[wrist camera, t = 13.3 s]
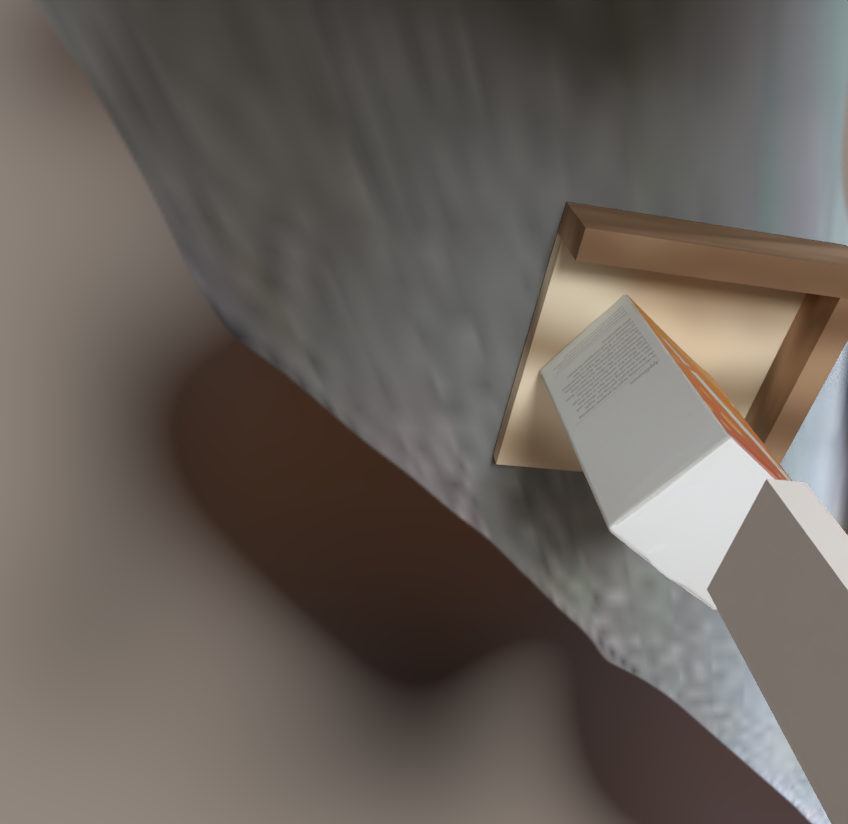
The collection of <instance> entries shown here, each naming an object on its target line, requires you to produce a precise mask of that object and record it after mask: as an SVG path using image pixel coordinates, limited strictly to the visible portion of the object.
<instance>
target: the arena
mask: <svg viewBox="0 0 848 824" xmlns="http://www.w3.org/2000/svg"><path fill="white" fill-rule="evenodd" d="M623 295H628V296H629V297H630V298H631V299H632V300H633V301H634V302H635V303H636V304H637V305H638V306H639V307H640V308H641V309H642V310H643V311H644V312H645V313H646V314H647V315H648V316H649V317H650V318H651V319H652V320H653V321H654V322H655V323H656V324H657V325H658V326H659V327H660V328H661V329H662V330H663V331H664V332H665V333H666V334H667V335H668V336H669V337H670V338H671V339H672V340H673V341H674V342H675V343H676V344H677V345H678V346H679V347H680V348H681V349H682V350H683V351H684V352H685V353H686V354H687V355H688V356H690V357H691V358H692V359H693V360H694V361H695V362H696V363H697V364H698V365H699V366H700V367H702V368H703V369H704V370H705V371H706V372H707V373H709V374H710V375H711V376H712V377H713V379H714V380H715V381H716V383H717V384H718V385H719V386H720V388H721V389H722V390H723V391H724V393H725V394H726V395H727V397H728V398H729V399H730V401H731V402H732V403H733V405H734V406H735V407H736V409H737V410H738V411H739V413H740V414H741V415H742V417H743V418H744V419H745V421H746V422H747V423H748V425H749V426H750V427H751V428H752V430H753V431H754V432H755V433H756V435H757V436H758V437H759V438H760V440H761V441H762V442H763V444H764V445H765V446H766V447H767V449H768V450H769V451H770V453H771V454H772V455H773V456H774V458H775V459H776V460H777V462H778V463H779V464H780V463H781V461H782V459H783V458H784V456H785V454H786V452H787V450H788V449H789V447H790V445H791V443H792V441H793V439H794V438H795V436H796V434H797V432H798V430H799V428H800V427H801V425H802V423H803V421H804V419H805V417H806V416H807V414H808V412H809V410H810V408H811V406H812V405H813V403H814V401H815V399H816V397H817V395H818V394H819V392H820V390H821V388H822V386H823V384H824V383H825V381H826V379H827V377H828V375H829V373H830V372H831V370H832V368H833V366H834V364H835V362H836V361H837V359H838V357H839V355H840V353H841V351H842V350H843V348H844V346H845V344H846V342H847V340H848V247H847V246H846V245H841V244H835V243H828V242H822V241H815V240H809V239H802V238H796V237H790V236H783V235H777V234H770V233H764V232H757V231H751V230H744V229H738V228H732V227H725V226H719V225H712V224H706V223H699V222H693V221H687V220H680V219H674V218H667V217H661V216H654V215H648V214H641V213H635V212H629V211H622V210H616V209H609V208H603V207H596V206H590V205H583V204H577V203H571V202H566V205H565V209H564V212H563V216H562V219H561V223H560V226H559V229H558V233H557V236H556V240H555V243H554V247H553V250H552V254H551V257H550V260H549V264H548V267H547V271H546V274H545V278H544V281H543V285H542V288H541V291H540V295H539V298H538V302H537V305H536V309H535V312H534V315H533V319H532V322H531V326H530V329H529V333H528V336H527V340H526V343H525V346H524V350H523V353H522V357H521V360H520V364H519V367H518V371H517V374H516V377H515V381H514V384H513V388H512V391H511V395H510V398H509V401H508V405H507V408H506V412H505V415H504V419H503V422H502V426H501V429H500V432H499V436H498V439H497V443H496V446H495V450H494V453H493V455H494V458H495V462H496V464H499V465H510V466H521V467H533V468H544V469H555V470H567V471H578V472H583V471H582V468H581V466H580V464H579V461H578V459H577V457H576V454H575V452H574V450H573V448H572V445H571V443H570V441H569V439H568V436H567V434H566V431H565V429H564V427H563V424H562V422H561V420H560V417H559V415H558V413H557V410H556V408H555V406H554V404H553V401H552V399H551V397H550V395H549V392H548V390H547V388H546V385H545V383H544V381H543V379H542V377H541V375H540V370H541V369H542V368H543V367H544V366H545V365H546V364H547V363H548V362H549V361H551V360H552V359H553V358H554V357H555V356H556V355H557V354H558V353H559V352H560V351H561V350H563V349H564V348H565V347H566V346H567V345H568V344H569V343H570V342H572V341H573V340H574V339H575V338H576V337H577V336H578V335H580V334H581V333H582V332H583V331H584V330H585V329H586V328H587V327H589V326H590V325H591V324H592V323H593V322H594V321H595V320H596V319H597V318H598V317H600V316H601V315H602V314H603V313H604V312H605V311H606V310H607V309H609V308H610V307H611V306H612V305H613V304H614V303H615V302H616V301H617V300H619V299H620V298H621V297H622V296H623Z"/></svg>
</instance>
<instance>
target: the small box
mask: <svg viewBox="0 0 848 824" xmlns="http://www.w3.org/2000/svg"><path fill="white" fill-rule="evenodd" d="M540 375H541V377H542V379H543V381H544V383H545V385H546V388H547V390H548V392H549V395H550V397H551V399H552V401H553V404H554V406H555V408H556V410H557V413H558V415H559V417H560V420H561V422H562V424H563V427H564V429H565V431H566V434H567V436H568V439H569V441H570V443H571V445H572V448H573V450H574V452H575V454H576V457H577V459H578V461H579V464H580V466H581V468H582V471H583V473H584V475H585V477H586V480H587V482H588V484H589V486H590V489H591V491H592V493H593V496H594V498H595V501H596V503H597V505H598V507H599V510H600V512H601V514H602V516H603V519H604V521H605V523H606V525H607V528H608V530H609V531H610V532H611V533H612V534H613V535H615V536H616V537H617V538H618V539H619V540H621V541H622V542H623V543H625V544H626V545H627V546H628V547H630V548H631V549H632V550H634V551H635V552H636V553H638V554H639V555H640V556H641V557H643V558H644V559H645V560H646V561H648V562H649V563H650V564H651V565H653V566H654V567H655V568H656V569H657V570H658V571H659V572H661V573H662V574H663V575H665V576H666V577H667V578H669V579H670V580H672V581H673V582H675V583H676V584H678V585H680V586H681V587H683V588H684V589H686V590H687V591H688V592H690V593H691V594H693V595H694V596H695V597H697V598H698V599H700V600H701V601H702V602H704V603H705V604H706V605H708V606H709V607H710V608H712V609H714V610H716V609H717V608H716V606H715V604H714V602H713V600H712V598H711V596H710V594H709V593H708V591H707V588H708V586H709V584H710V582H711V580H712V579H713V577H714V575H715V573H716V571H717V569H718V568H719V566H720V564H721V562H722V560H723V558H724V556H725V555H726V553H727V551H728V549H729V547H730V545H731V543H732V542H733V540H734V538H735V536H736V534H737V532H738V531H739V529H740V527H741V525H742V523H743V521H744V519H745V518H746V516H747V514H748V512H749V510H750V508H751V506H752V505H753V503H754V501H755V499H756V497H757V495H758V494H759V492H760V490H761V488H762V486H763V484H764V482H765V481H766V479H774V480H785V481H792V480H791V478H790V477H789V476H788V475H787V473H786V472H785V471H784V469H783V468H782V467H781V465H780V464H779V463H778V462H777V460H776V459H775V458H774V456H773V455H772V454H771V453H770V451H769V450H768V449H767V447H766V446H765V445H764V444H763V442H762V441H761V440H760V438H759V437H758V436H757V435H756V433H755V432H754V431H753V430H752V428H751V427H750V426H749V425H748V423H747V422H746V421H745V419H744V418H743V417H742V415H741V414H740V413H739V411H738V410H737V409H736V407H735V406H734V405H733V403H732V402H731V401H730V399H729V398H728V397H727V395H726V394H725V393H724V391H723V390H722V389H721V388H720V386H719V385H718V384H717V383H716V381H715V380H714V379H713V377H712V376H711V375H710V374H709V373H707V372H706V371H705V370H704V369H703V368H702V367H700V366H699V365H698V364H697V363H696V362H695V361H694V360H693V359H692V358H691V357H690V356H688V355H687V354H686V353H685V352H684V351H683V350H682V349H681V348H680V347H679V346H678V345H677V344H676V343H675V342H674V341H673V340H672V339H671V338H670V337H669V336H668V335H667V334H666V333H665V332H664V331H663V330H662V329H661V328H660V327H659V326H658V325H657V324H656V323H655V322H654V321H653V320H652V319H651V318H650V317H649V316H648V315H647V314H646V313H645V312H644V311H643V310H642V309H641V308H640V307H639V306H638V305H637V304H636V303H635V302H634V301H633V300H632V299H631V298H630V297H629V296H628V295H623V296H622V297H621V298H620V299H619V300H617V301H616V302H615V303H614V304H613V305H612V306H611V307H610V308H609V309H607V310H606V311H605V312H604V313H603V314H602V315H601V316H600V317H598V318H597V319H596V320H595V321H594V322H593V323H592V324H591V325H590V326H589V327H587V328H586V329H585V330H584V331H583V332H582V333H581V334H580V335H578V336H577V337H576V338H575V339H574V340H573V341H572V342H570V343H569V344H568V345H567V346H566V347H565V348H564V349H563V350H561V351H560V352H559V353H558V354H557V355H556V356H555V357H554V358H553V359H552V360H551V361H549V362H548V363H547V364H546V365H545V366H544V367H543V368H542V369H541V370H540Z"/></svg>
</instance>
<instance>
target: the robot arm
mask: <svg viewBox="0 0 848 824" xmlns="http://www.w3.org/2000/svg"><path fill="white" fill-rule="evenodd" d="M707 591H708V593H709V594H710V596H711V598H712V600H713V602H714V604H715V606H716V608H717V609H718V611H719V613H720V615H721V617H722V619H723V621H724V623H725V624H726V626H727V628H728V630H729V632H730V634H731V636H732V638H733V639H734V641H735V643H736V645H737V647H738V649H739V651H740V653H741V655H742V656H743V658H744V660H745V662H746V664H747V666H748V668H749V670H750V671H751V673H752V675H753V677H754V679H755V681H756V683H757V685H758V686H759V688H760V690H761V692H762V694H763V696H764V698H765V700H766V701H767V703H768V705H769V707H770V709H771V711H772V713H773V715H774V716H775V718H776V720H777V722H778V724H779V726H780V728H781V730H782V732H783V733H784V735H785V737H786V739H787V741H788V743H789V745H790V747H791V748H792V750H793V752H794V754H795V756H796V758H797V760H798V762H799V763H800V765H801V767H802V769H803V771H804V773H805V775H806V777H807V778H808V780H809V782H810V784H811V786H812V788H813V790H814V792H815V793H816V795H817V797H818V799H819V801H820V803H821V805H822V807H823V809H824V810H825V812H826V814H827V816H828V818H829V820H830V822H831V824H848V535H847V534H846V533H845V532H844V530H843V529H842V528H841V527H840V525H839V524H838V523H837V522H836V520H835V519H834V518H833V517H832V515H831V514H830V513H829V512H828V510H827V509H826V508H825V506H824V505H823V504H822V503H821V501H820V500H819V499H818V498H817V496H816V495H815V494H814V493H813V491H812V490H811V489H810V488H809V486H808V485H807V484H806V482H796V481H785V480H774V479H766V481H765V482H764V484H763V486H762V488H761V490H760V492H759V494H758V495H757V497H756V499H755V501H754V503H753V505H752V506H751V508H750V510H749V512H748V514H747V516H746V518H745V519H744V521H743V523H742V525H741V527H740V529H739V531H738V532H737V534H736V536H735V538H734V540H733V542H732V543H731V545H730V547H729V549H728V551H727V553H726V555H725V556H724V558H723V560H722V562H721V564H720V566H719V568H718V569H717V571H716V573H715V575H714V577H713V579H712V580H711V582H710V584H709V586H708V588H707Z"/></svg>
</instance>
